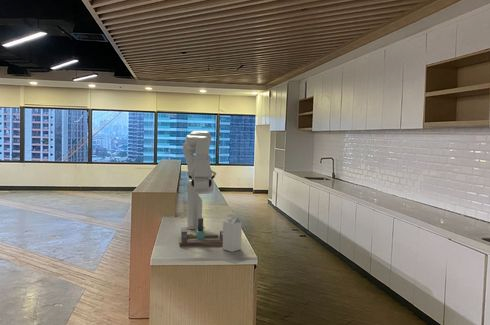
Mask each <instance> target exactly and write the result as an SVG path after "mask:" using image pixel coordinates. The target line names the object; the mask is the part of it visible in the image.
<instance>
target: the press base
mask: <svg viewBox="0 0 490 325" xmlns="http://www.w3.org/2000/svg"><path fill="white" fill-rule="evenodd" d="M180 228H181V229H180V237H179V238H178V240H179V242H178V243H179V247H223V230H219V235H218V234H204V239H196V234H193V233H188V229H187V228H185V227H180Z"/></svg>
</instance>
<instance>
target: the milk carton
mask: <svg viewBox="0 0 490 325" xmlns="http://www.w3.org/2000/svg"><path fill="white" fill-rule="evenodd" d="M242 227H243V226H242V221H241V220H240V218H239V216H238V215H237V214H232V213H227V216H226V217H225V218H224V220H223V221H222V231H223V246H222V250H224V251H228V252H231V253H233V252H236V251H239V250H242Z"/></svg>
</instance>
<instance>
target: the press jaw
mask: <svg viewBox="0 0 490 325" xmlns="http://www.w3.org/2000/svg"><path fill="white" fill-rule="evenodd" d="M203 225H204V218H203V217H202V218H198V229H195V230H196V231H195V232H196V234H195V235H196V239H204V235H205V229H204V228H203Z"/></svg>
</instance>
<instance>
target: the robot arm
mask: <svg viewBox="0 0 490 325" xmlns="http://www.w3.org/2000/svg"><path fill="white" fill-rule="evenodd" d="M211 143H212V134H211V133H210V132H209V131H207V130H194V131H191V132H190V133H189V134H187V135H186V136H185V141H184V143H183V145H182V153H183V156H184V159H185V161H186V163H187V172H186V174H187V176H188V179H189V180H188V181H187V183H186V193H187V222H186V223H187V224H185V225H184V228H187V230H197V229H198V218H203V200H202V198H201V197H200V196H199V195H210V194H213V192H214V186H215V185H214V178H215V177H216V175H217V172H216V171H214V170H212V168H211V161H210V159H211V158H212V156H211V155H209V150H210V147H211ZM204 228H205V225H204V224H203V229H204Z"/></svg>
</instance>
